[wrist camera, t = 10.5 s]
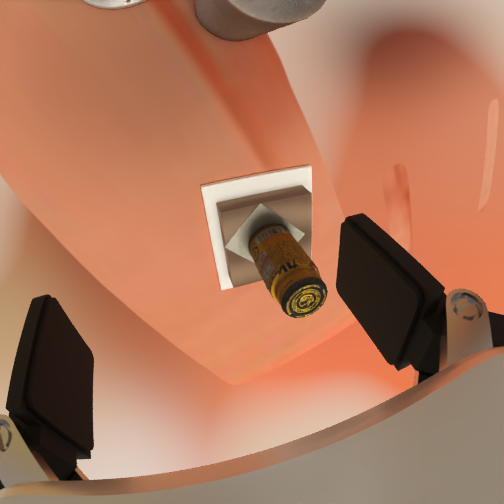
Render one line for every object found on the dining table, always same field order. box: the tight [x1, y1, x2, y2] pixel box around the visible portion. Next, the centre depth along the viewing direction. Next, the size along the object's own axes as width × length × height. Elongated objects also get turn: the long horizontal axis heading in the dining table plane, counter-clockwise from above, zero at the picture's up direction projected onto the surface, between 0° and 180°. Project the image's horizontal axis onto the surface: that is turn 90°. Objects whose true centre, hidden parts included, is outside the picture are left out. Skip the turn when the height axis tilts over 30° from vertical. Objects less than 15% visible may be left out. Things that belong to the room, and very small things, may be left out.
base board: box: [201, 165, 312, 290], centre depth 44 cm, size 17×15×1 cm
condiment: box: [225, 203, 328, 318], centre depth 36 cm, size 7×8×12 cm
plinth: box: [216, 185, 312, 288], centre depth 43 cm, size 12×12×3 cm
